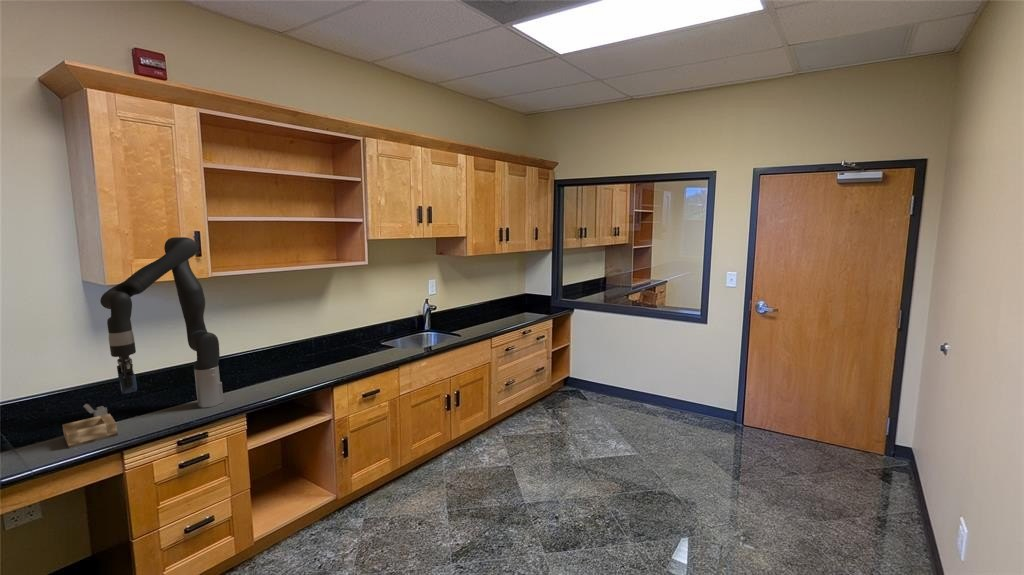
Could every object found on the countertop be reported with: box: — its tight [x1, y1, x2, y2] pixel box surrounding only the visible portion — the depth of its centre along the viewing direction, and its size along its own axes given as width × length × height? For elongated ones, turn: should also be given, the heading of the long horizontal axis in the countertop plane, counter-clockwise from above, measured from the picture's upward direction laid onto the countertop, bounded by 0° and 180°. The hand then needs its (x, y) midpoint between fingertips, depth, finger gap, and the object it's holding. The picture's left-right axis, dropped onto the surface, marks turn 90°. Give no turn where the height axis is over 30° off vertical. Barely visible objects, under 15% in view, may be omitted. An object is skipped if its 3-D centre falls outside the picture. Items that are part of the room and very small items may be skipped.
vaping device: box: [116, 364, 138, 395], centre depth 185 cm, size 3×5×12 cm, turn 142°
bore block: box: [61, 413, 119, 449], centre depth 183 cm, size 14×14×5 cm
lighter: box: [82, 403, 109, 417], centre depth 198 cm, size 7×2×8 cm, turn 152°
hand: (128, 385), depth 186 cm, fingers closed on vaping device, 2 cm apart
